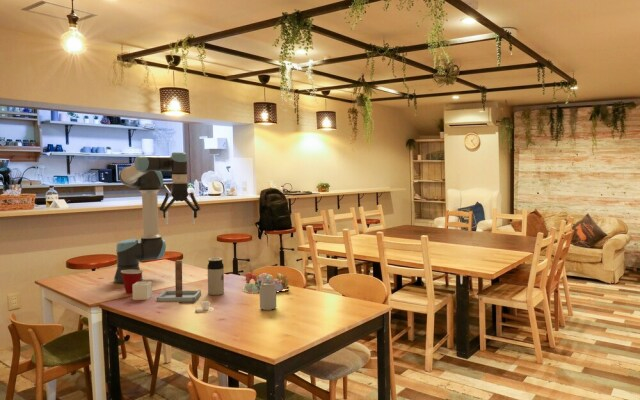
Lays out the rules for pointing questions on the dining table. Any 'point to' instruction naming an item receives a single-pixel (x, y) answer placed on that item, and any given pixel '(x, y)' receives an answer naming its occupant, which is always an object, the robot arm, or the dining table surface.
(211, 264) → the travel mug
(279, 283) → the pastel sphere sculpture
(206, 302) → the cream curved piece
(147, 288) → the square open box
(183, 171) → the robot arm
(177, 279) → the dowel
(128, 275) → the plastic cup
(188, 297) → the tray
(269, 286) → the can
